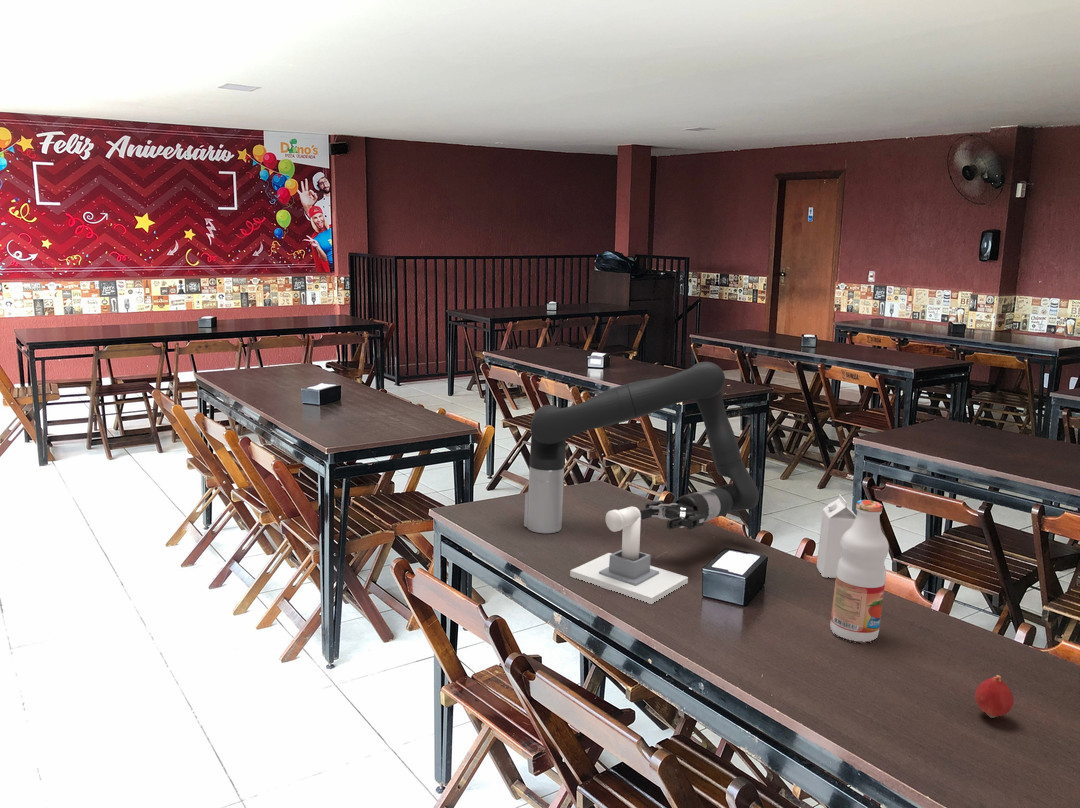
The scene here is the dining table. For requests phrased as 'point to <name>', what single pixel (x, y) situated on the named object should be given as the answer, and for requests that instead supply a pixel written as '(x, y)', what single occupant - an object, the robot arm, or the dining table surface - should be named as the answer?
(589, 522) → the dining table surface
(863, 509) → the fruit juice
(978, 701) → the onion
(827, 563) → the milk carton
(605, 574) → the duct
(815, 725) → the dining table surface
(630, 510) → the elbow
